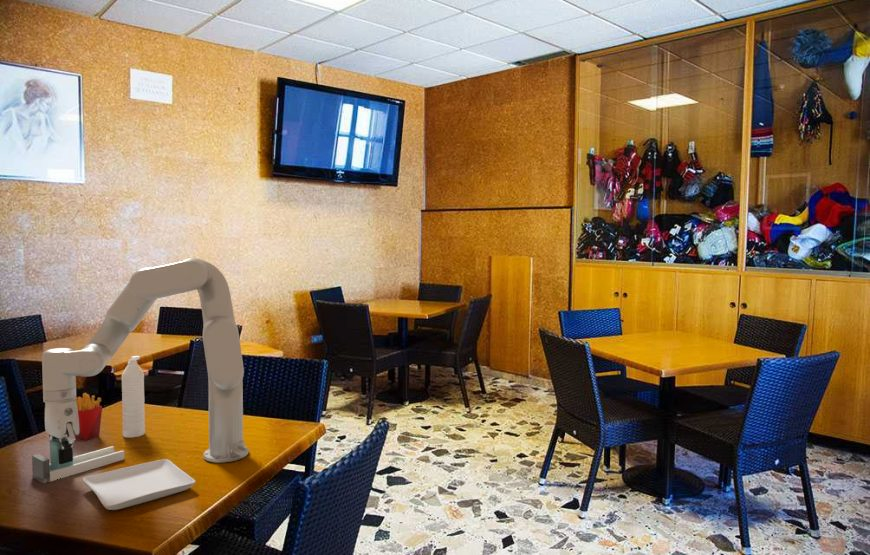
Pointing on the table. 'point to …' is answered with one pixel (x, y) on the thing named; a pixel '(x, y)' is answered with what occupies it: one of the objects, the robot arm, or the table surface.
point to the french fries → (88, 417)
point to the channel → (74, 464)
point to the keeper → (56, 455)
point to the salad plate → (138, 484)
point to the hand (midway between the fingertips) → (61, 459)
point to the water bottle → (133, 399)
